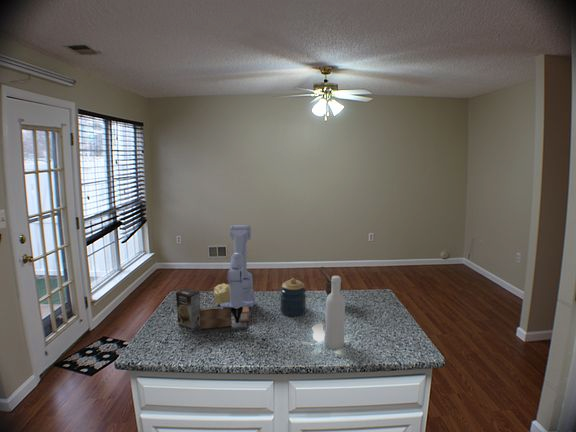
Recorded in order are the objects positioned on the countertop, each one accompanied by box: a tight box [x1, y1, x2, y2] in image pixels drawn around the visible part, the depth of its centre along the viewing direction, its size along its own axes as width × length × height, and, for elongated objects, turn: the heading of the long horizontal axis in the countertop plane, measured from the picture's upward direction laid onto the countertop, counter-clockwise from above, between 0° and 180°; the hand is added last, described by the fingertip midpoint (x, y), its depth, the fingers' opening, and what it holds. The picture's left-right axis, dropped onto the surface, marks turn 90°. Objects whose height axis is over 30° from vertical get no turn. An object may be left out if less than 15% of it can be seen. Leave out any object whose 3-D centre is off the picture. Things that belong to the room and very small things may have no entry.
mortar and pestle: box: [319, 266, 343, 296], centre depth 178 cm, size 12×9×20 cm
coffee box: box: [175, 287, 201, 329], centre depth 158 cm, size 9×6×16 cm
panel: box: [199, 306, 233, 329], centre depth 153 cm, size 14×2×9 cm, turn 100°
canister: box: [279, 277, 307, 318], centre depth 170 cm, size 13×13×18 cm
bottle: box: [324, 275, 346, 350], centre depth 139 cm, size 8×8×30 cm
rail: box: [192, 321, 248, 335], centre depth 154 cm, size 24×4×1 cm, turn 100°
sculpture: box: [213, 282, 230, 306], centre depth 179 cm, size 11×12×11 cm
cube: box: [239, 307, 250, 323], centre depth 163 cm, size 5×5×5 cm
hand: (237, 321), depth 155 cm, fingers closed
